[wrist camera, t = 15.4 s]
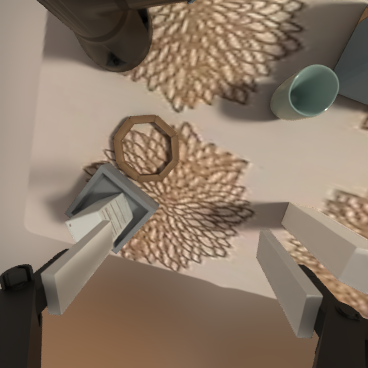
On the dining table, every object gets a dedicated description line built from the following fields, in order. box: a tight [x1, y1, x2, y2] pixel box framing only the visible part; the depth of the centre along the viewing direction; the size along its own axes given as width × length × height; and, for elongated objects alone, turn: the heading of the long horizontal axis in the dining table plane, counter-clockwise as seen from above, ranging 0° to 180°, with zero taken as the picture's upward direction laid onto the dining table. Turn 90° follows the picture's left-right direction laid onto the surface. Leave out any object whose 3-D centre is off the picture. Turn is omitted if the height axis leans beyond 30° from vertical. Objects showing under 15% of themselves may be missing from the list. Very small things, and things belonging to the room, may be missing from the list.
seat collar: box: [113, 115, 180, 182], centre depth 42 cm, size 15×15×2 cm
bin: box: [64, 163, 159, 254], centre depth 45 cm, size 16×16×4 cm
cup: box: [270, 64, 339, 121], centre depth 34 cm, size 8×8×10 cm
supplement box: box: [65, 192, 134, 243], centre depth 40 cm, size 7×7×13 cm
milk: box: [281, 202, 368, 295], centre depth 34 cm, size 6×6×22 cm
